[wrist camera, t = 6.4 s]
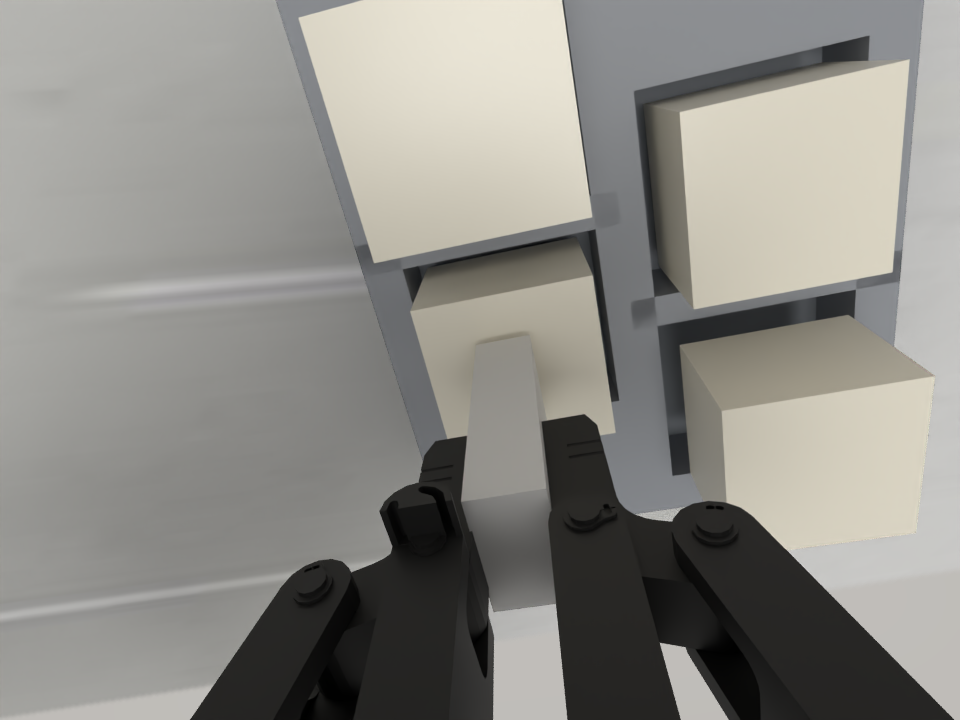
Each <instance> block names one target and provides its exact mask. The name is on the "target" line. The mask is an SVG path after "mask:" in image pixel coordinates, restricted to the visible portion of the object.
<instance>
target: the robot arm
mask: <svg viewBox="0 0 960 720" xmlns="http://www.w3.org/2000/svg"><path fill="white" fill-rule="evenodd" d="M421 471H422V473H421V474H420V479H419V483H415V484H412V485H408V486H406V487H404V488H402V489H400V490H398V491H397V492H395V493H393V494H392V495H391V496H390V497H389V498H388V499H387V500H386V501H385V502H384V504H383V506H382V508H381V509H380V511H379V512H380V514H381V517H382V520H383V522H384V525H385V528H386V530H387V533H388V536H389V538H390V541H391V544H392V546H393V547H392V551H391V554H390V555H389V556H387V557H386V558H384V559H382V560H380V561H378V562H376V563H374V564H372V565H369V566H367V567H364V568H362V569H359V570H357V571H354V572H352V573H351V571H350V569H349V568H348V567H347V566H346V565H345V564H344V563H343V562H341V561H337V560H333V559H329V560H320V561H317V562H314V563H312V564H309V565H307V566H304V567H303V568H301V569H300V570H299V571H297V572H296V573H294V574H293V575H292V576H291V577H290V578H289V579H288V580H287V581H286V582H285V583H284V584H283V586H282V587H281V588H280V590H279V591H278V593H277V594H276V596H275V597H274V599H273V600H272V601H271V603H270V604H269V606H268V607H267V609H266V610H265V612H264V613H263V615H262V616H261V617H260V619H259V620H258V622H257V623H256V625H255V626H254V628H253V629H252V631H251V632H250V633H249V635H248V636H247V638H246V639H245V641H244V642H243V644H242V645H241V647H240V648H239V649H238V651H237V652H236V654H235V655H234V657H233V658H232V660H231V661H230V663H229V664H228V665H227V667H226V668H225V670H224V671H223V673H222V674H221V676H220V677H219V679H218V680H217V681H216V683H215V684H214V686H213V687H212V689H211V690H210V692H209V693H208V695H207V696H206V697H205V699H204V700H203V702H202V703H201V705H200V706H199V708H198V709H197V711H196V712H195V714H194V715H193V716H192V718H191V719H190V720H493V672H494V671H493V668H494V667H493V666H494V663H493V662H494V635H493V631H492V626H491V623H490V620H489V616H488V604H489V598H490V601H491V605H492V608H493V611H494V612H497V611H505V610H512V609H520V608H527V607H535V606H543V605H550V604H556V608H557V618H558V628H559V638H560V648H561V659H562V669H563V679H564V688H565V699H566V709H567V719H568V720H681V719H680V715H679V712H678V708H677V705H676V701H675V697H674V694H673V690H672V686H671V683H670V679H669V676H668V672H667V668H666V665H665V661H664V657H663V653H662V650H661V646H660V643H665V644H671V645H677V646H682V647H686V650H687V652H688V654H689V656H690V658H691V659H692V661H693V662H694V664H695V666H696V667H697V669H698V671H699V672H700V674H701V675H702V677H703V679H704V680H705V682H706V683H707V685H708V687H709V688H710V690H711V691H712V693H713V695H714V696H715V698H716V700H717V701H718V703H719V705H720V706H721V708H722V709H723V711H724V712H725V714H726V716H727V717H728V719H729V720H954V719H953V718H952V717H951V716H950V715H949V714H948V713H947V712H946V711H945V710H944V709H943V708H942V707H941V706H940V705H939V704H938V703H937V702H936V701H935V700H934V699H933V698H932V697H931V696H930V695H929V694H928V693H927V692H926V691H925V690H924V689H923V688H922V687H921V686H920V685H919V684H918V683H917V682H916V681H915V680H914V679H913V678H912V677H911V676H910V675H909V674H908V673H907V672H906V670H904V669H903V668H902V667H901V666H900V665H899V663H898V662H897V661H896V660H895V659H894V658H893V657H892V656H891V655H890V654H889V653H888V652H887V651H886V650H885V649H884V648H882V646H881V645H880V644H879V643H878V642H877V641H876V640H875V639H874V638H873V637H872V636H871V635H870V634H869V633H868V632H867V631H866V630H865V629H864V628H863V627H862V626H861V625H860V624H859V623H858V622H857V621H856V620H855V619H854V618H853V617H852V616H851V615H850V614H849V613H848V612H847V611H846V610H845V609H844V608H843V607H842V606H841V605H840V604H839V603H838V602H837V601H836V600H835V599H834V598H833V597H832V596H831V595H830V594H829V593H828V592H827V591H826V590H825V589H824V588H823V587H822V586H821V585H820V584H819V583H818V582H817V581H816V580H815V579H814V577H813V576H812V575H811V574H810V573H809V572H808V571H807V570H806V569H805V568H804V567H803V566H802V565H801V564H800V563H799V562H798V561H797V560H796V559H795V558H794V557H793V556H792V555H791V554H790V553H789V552H788V551H787V550H786V549H785V548H784V547H783V546H782V545H781V544H780V543H779V542H778V541H777V540H776V539H775V538H774V537H773V536H772V535H771V534H770V533H769V532H768V531H767V530H766V529H765V528H764V527H763V526H762V525H761V524H760V523H759V522H758V521H757V520H756V519H755V518H754V517H753V516H752V515H751V514H749V513H748V512H746V511H745V510H743V509H742V508H741V507H738V506H735V505H732V504H729V503H726V502H717V501H705V502H699V503H693V504H691V505H689V506H687V507H685V508H683V509H681V510H680V511H679V513H678V514H677V515H676V516H675V517H674V519H673V522H669V521H658V520H652V519H646V518H643V517H640V516H637V515H635V514H633V513H631V512H630V511H628V510H627V509H625V508H624V507H623V505H622V504H621V503H620V502H619V500H618V498H617V496H616V492H615V489H614V485H613V481H612V477H611V474H610V470H609V466H608V463H607V459H606V455H605V452H604V448H603V444H602V441H601V437H600V433H599V430H598V426H597V424H596V423H595V422H593V421H592V420H591V419H590V418H589V417H588V416H586V415H585V414H582V415H576V416H570V417H564V418H558V419H553V420H547V417H546V413H545V408H544V403H543V398H542V393H541V388H540V383H539V378H538V373H537V368H536V363H535V358H534V353H533V348H532V344H531V339H530V335H526V336H521V337H516V338H510V339H505V340H500V341H494V342H489V343H484V344H479V345H476V348H475V359H474V370H473V380H472V391H471V401H470V412H469V422H468V433H467V436H462V437H456V438H450V439H444V440H439V441H435V442H434V443H433V445H432V446H431V447H430V449H429V450H428V451H427V452H426V454H425V455H424V459H423V464H422V469H421Z"/></svg>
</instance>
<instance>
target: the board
mask: <svg viewBox="0 0 960 720" xmlns="http://www.w3.org/2000/svg"><path fill="white" fill-rule="evenodd" d="M358 1H361V0H276V3H277V6H278V9H279V12H280V15H281V18H282V21H283V25H284V28H285V31H286V34H287V37H288V40H289V43H290V46H291V50H292V53H293V56H294V59H295V62H296V65H297V68H298V71H299V75H300V78H301V81H302V84H303V87H304V90H305V93H306V97H307V100H308V103H309V106H310V109H311V112H312V115H313V118H314V122H315V125H316V128H317V131H318V134H319V137H320V140H321V143H322V147H323V150H324V153H325V156H326V159H327V162H328V165H329V168H330V172H331V175H332V178H333V181H334V184H335V187H336V190H337V194H338V197H339V200H340V203H341V206H342V209H343V212H344V215H345V219H346V222H347V225H348V228H349V231H350V234H351V237H352V240H353V244H354V247H355V250H356V253H357V256H358V259H359V262H360V265H361V269H362V272H363V275H364V278H365V281H366V284H367V287H368V291H369V294H370V297H371V300H372V303H373V306H374V309H375V312H376V316H377V319H378V322H379V325H380V328H381V331H382V334H383V337H384V341H385V344H386V347H387V350H388V353H389V356H390V359H391V362H392V366H393V369H394V372H395V375H396V378H397V381H398V384H399V388H400V391H401V394H402V397H403V400H404V403H405V406H406V409H407V413H408V416H409V419H410V422H411V425H412V428H413V431H414V434H415V438H416V441H417V444H418V447H419V450H420V453H421V456H422V460H423V459H424V455H425V454H426V452H427V451H428V450H429V449H430V447H431V446H432V445H433V443H434V442H435V441H439V440H444V439H447V436H446V432H445V429H444V426H443V422H442V419H441V415H440V412H439V408H438V405H437V402H436V398H435V395H434V391H433V388H432V385H431V381H430V378H429V374H428V371H427V367H426V364H425V361H424V357H423V354H422V350H421V347H420V343H419V340H418V337H417V333H416V330H415V326H414V323H413V320H412V316H411V313H410V310H411V308H412V305H413V303H414V300H415V298H416V295H417V293H418V290H419V288H420V285H421V283H422V280H423V278H424V275H425V273H426V270H427V268H429V267H434V266H439V265H444V264H449V263H454V262H458V261H463V260H468V259H473V258H478V257H483V256H487V255H492V254H497V253H502V252H507V251H511V250H516V249H521V248H526V247H531V246H536V245H540V244H545V243H550V242H555V241H560V240H565V239H569V238H574V237H576V238H577V240H578V242H579V245H580V247H581V249H582V252H583V254H584V256H585V259H586V261H587V263H588V265H589V268H590V270H591V272H592V275H593V281H594V287H595V294H596V301H597V308H598V315H599V322H600V328H601V335H602V342H603V349H604V356H605V363H606V370H607V376H608V383H609V390H610V397H611V404H612V411H613V418H614V424H615V431H616V433H612V434H606V435H600V437H601V441H602V444H603V448H604V452H605V455H606V459H607V463H608V466H609V470H610V474H611V477H612V481H613V485H614V489H615V492H616V496H617V498H618V500H619V502H620V503H621V504H622V505H623V507H624V508H625V509H627V510H628V511H630V512H631V513H633V514H639V513H646V512H653V511H660V510H666V509H673V508H680V507H687V506H689V505H691V504H693V503H699V502H704V501H703V499H702V497H701V495H700V493H699V491H698V488H697V486H696V484H695V482H694V480H693V478H692V475H691V473H690V463H689V451H688V439H687V428H686V416H685V404H684V392H683V380H682V368H681V357H680V345H683V344H688V343H694V342H699V341H705V340H710V339H716V338H722V337H727V336H733V335H738V334H744V333H749V332H755V331H761V330H766V329H772V328H777V327H783V326H788V325H794V324H800V323H805V322H811V321H816V320H822V319H827V318H833V317H839V316H844V315H849V316H851V317H852V318H854V319H855V320H856V321H858V322H859V323H861V324H862V325H864V326H865V327H866V328H868V329H869V330H871V331H872V332H873V333H875V334H876V335H878V336H879V337H881V338H882V339H883V340H885V341H886V342H888V343H889V344H890V345H892V346H893V347H894V340H895V329H896V317H897V306H898V294H899V283H900V271H901V260H902V248H903V237H904V225H905V214H906V202H907V191H908V179H909V168H910V156H911V145H912V133H913V122H914V110H915V99H916V87H917V76H918V64H919V53H920V41H921V30H922V18H923V7H924V0H562V4H563V11H564V18H565V25H566V32H567V40H568V47H569V54H570V61H571V68H572V75H573V82H574V89H575V97H576V104H577V111H578V118H579V125H580V132H581V139H582V147H583V154H584V161H585V168H586V175H587V182H588V189H589V197H590V204H591V211H592V217H591V218H587V219H582V220H577V221H572V222H568V223H563V224H558V225H553V226H549V227H544V228H539V229H535V230H530V231H525V232H520V233H516V234H511V235H506V236H501V237H497V238H492V239H487V240H482V241H478V242H473V243H468V244H463V245H459V246H454V247H449V248H444V249H440V250H435V251H430V252H425V253H421V254H416V255H411V256H406V257H402V258H397V259H392V260H387V261H383V262H378V263H374V261H373V258H372V255H371V252H370V248H369V245H368V242H367V239H366V236H365V232H364V229H363V226H362V223H361V219H360V216H359V213H358V210H357V206H356V203H355V200H354V197H353V193H352V190H351V187H350V184H349V180H348V177H347V174H346V171H345V168H344V164H343V161H342V158H341V155H340V151H339V148H338V145H337V142H336V138H335V135H334V132H333V129H332V125H331V122H330V119H329V116H328V112H327V109H326V106H325V103H324V100H323V96H322V93H321V90H320V87H319V83H318V80H317V77H316V74H315V70H314V67H313V64H312V61H311V57H310V54H309V51H308V48H307V44H306V41H305V38H304V35H303V32H302V28H301V25H300V22H299V19H298V18H299V17H303V16H306V15H310V14H314V13H317V12H321V11H325V10H328V9H332V8H336V7H339V6H343V5H347V4H350V3H354V2H358ZM907 59H910V62H909V74H908V87H907V99H906V111H905V124H904V136H903V148H902V161H901V173H900V185H899V198H898V210H897V222H896V235H895V247H894V259H893V272H892V273H887V274H881V275H876V276H870V277H865V278H860V279H854V280H849V281H844V282H838V283H833V284H828V285H822V286H817V287H811V288H806V289H801V290H795V291H790V292H785V293H779V294H774V295H769V296H763V297H758V298H752V299H747V300H742V301H736V302H731V303H726V304H720V305H715V306H710V307H704V308H699V309H693V308H692V307H691V305H690V304H689V303H688V302H687V300H686V299H685V298H684V297H683V295H682V294H681V293H680V292H679V290H678V289H677V288H676V287H675V285H674V284H673V283H672V282H671V280H670V279H669V278H668V277H667V275H666V274H665V273H664V272H663V270H662V269H661V268H660V267H659V263H658V252H657V242H656V231H655V221H654V210H653V200H652V189H651V179H650V168H649V158H648V147H647V137H646V126H645V116H644V106H643V104H645V103H650V102H654V101H658V100H662V99H667V98H671V97H675V96H680V95H684V94H688V93H692V92H697V91H701V90H705V89H710V88H714V87H718V86H723V85H727V84H731V83H735V82H740V81H744V80H748V79H753V78H757V77H761V76H765V75H770V74H774V73H778V72H783V71H787V70H791V69H795V68H800V67H804V66H808V65H813V64H817V63H821V62H845V61H876V60H907Z"/></svg>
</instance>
